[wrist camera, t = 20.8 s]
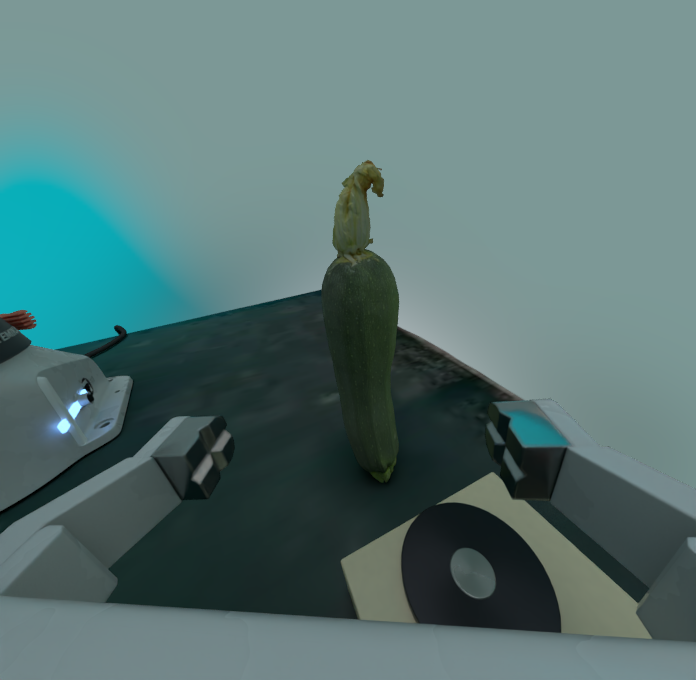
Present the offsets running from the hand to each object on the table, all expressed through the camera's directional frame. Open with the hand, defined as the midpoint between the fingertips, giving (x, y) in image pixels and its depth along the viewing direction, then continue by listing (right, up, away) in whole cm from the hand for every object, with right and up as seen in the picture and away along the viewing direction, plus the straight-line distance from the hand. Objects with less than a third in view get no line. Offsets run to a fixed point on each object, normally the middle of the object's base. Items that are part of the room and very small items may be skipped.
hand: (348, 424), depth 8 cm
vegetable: (+2, -7, +12) cm, 15 cm away
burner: (+5, -8, +3) cm, 10 cm away
